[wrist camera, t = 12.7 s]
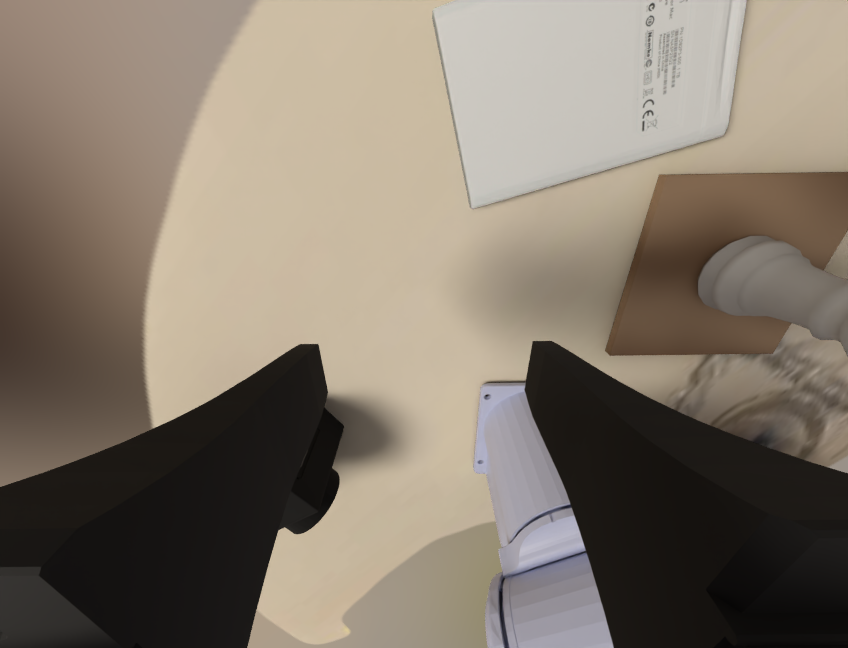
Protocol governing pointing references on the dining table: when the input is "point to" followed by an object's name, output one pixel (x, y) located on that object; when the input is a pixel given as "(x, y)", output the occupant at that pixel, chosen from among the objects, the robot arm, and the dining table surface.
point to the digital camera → (314, 479)
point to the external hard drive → (581, 85)
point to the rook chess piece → (776, 287)
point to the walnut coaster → (702, 237)
